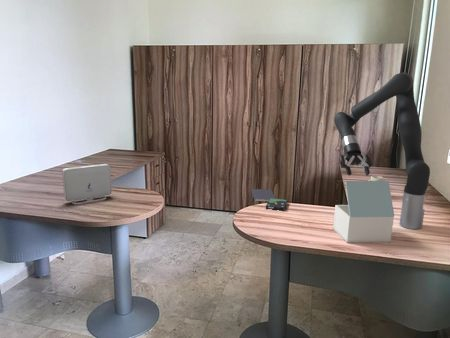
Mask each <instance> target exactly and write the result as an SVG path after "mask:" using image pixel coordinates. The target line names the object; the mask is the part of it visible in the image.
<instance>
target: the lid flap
mask: <svg viewBox="0 0 450 338" xmlns="http://www.w3.org/2000/svg"><path fill="white" fill-rule="evenodd" d="M390 187H391V186H390V181H389V180H385V181H368V180H346V181H345V189H346V191H345V192H346V198H347V205H348V207H349V214H350V217H394V218H395V211H394V205H393V200H392V193H391V188H390Z"/></svg>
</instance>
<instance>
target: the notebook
mask: <svg viewBox="0 0 450 338" xmlns="http://www.w3.org/2000/svg"><path fill="white" fill-rule="evenodd" d="M251 192H252V197H253V201H254V202H256V201H257V202H268V201H269V199H271V198H272V199H276V197H275V194H274V193H273V191H272V189H271V188H270V189H267V188H264V189H260V188H257V189H256V188H252V189H251Z"/></svg>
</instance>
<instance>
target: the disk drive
mask: <svg viewBox="0 0 450 338" xmlns="http://www.w3.org/2000/svg"><path fill="white" fill-rule="evenodd" d="M286 204H287V205H288V199H281V198H275V199H272V198H271V199H269V201H267V203H266V204H265V210H268V209H272V210H271V211H277V210H279V211H278V212H285V209H286V207H287V205H286Z"/></svg>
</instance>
